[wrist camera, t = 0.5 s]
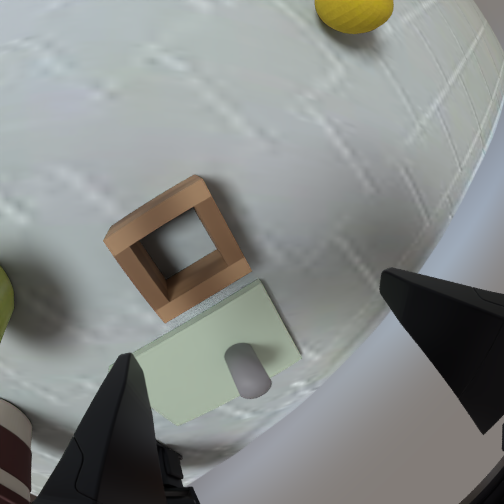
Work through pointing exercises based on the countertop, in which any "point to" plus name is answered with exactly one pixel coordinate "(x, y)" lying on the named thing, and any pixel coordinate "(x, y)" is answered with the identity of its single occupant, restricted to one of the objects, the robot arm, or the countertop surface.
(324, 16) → the lemon
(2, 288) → the plant pot
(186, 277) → the link
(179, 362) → the keeper board
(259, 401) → the countertop surface
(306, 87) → the countertop surface
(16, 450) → the coffee cup
